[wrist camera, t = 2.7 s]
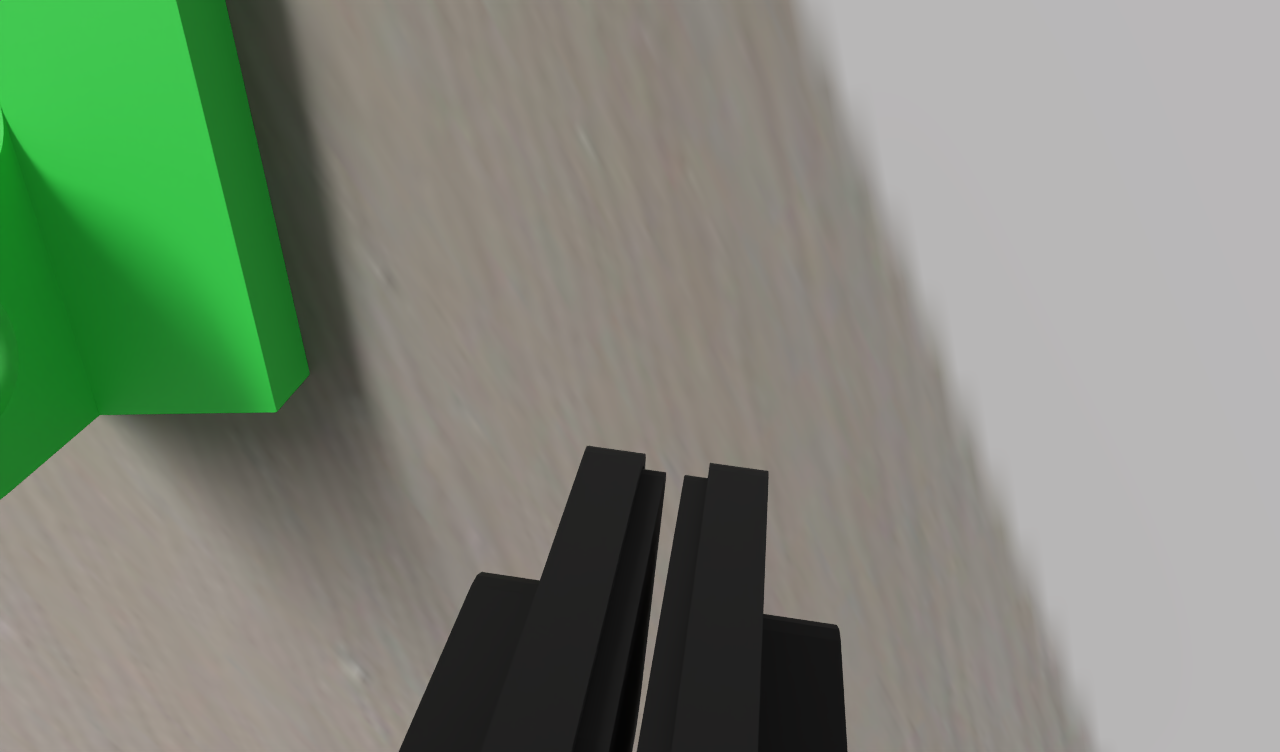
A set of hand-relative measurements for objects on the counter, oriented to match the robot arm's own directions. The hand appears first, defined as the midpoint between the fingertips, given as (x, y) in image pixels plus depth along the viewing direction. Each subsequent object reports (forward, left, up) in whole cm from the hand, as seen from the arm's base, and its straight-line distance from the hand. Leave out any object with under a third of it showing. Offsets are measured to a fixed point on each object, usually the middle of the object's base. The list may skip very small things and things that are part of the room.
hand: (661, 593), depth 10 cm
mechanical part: (0, -13, -14) cm, 18 cm away
